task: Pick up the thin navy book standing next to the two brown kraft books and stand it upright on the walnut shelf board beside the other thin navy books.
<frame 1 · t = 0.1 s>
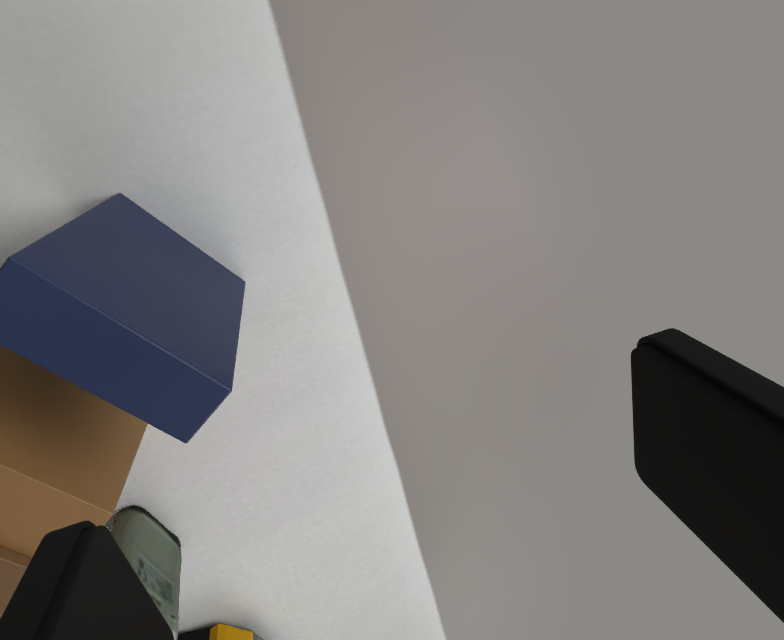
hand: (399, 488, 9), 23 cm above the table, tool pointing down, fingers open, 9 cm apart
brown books: (68, 389, 31), on the table
power adapter: (154, 531, 36), on the table
navy book: (171, 258, 29), on the table
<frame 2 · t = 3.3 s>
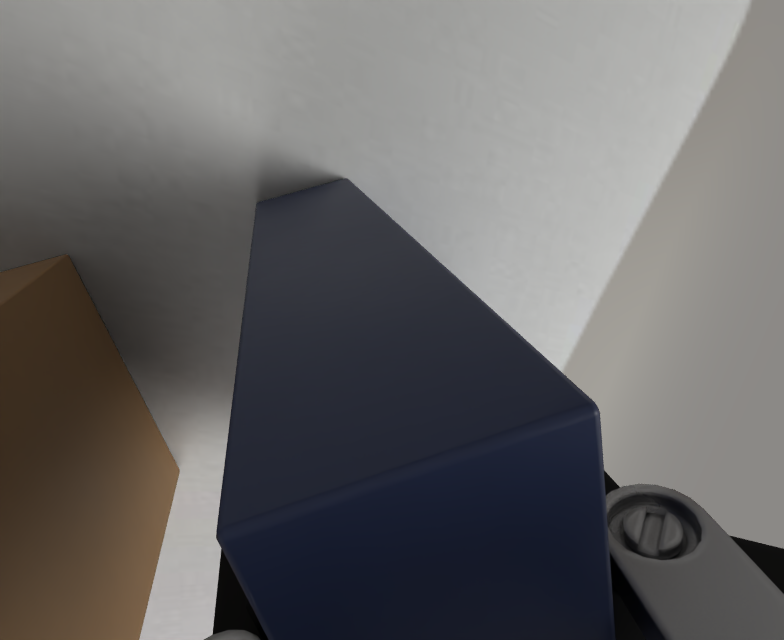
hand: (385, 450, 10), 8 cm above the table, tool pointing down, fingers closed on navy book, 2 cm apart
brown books: (14, 407, 16), on the table
navy book: (338, 310, 17), on the table, touching gripper
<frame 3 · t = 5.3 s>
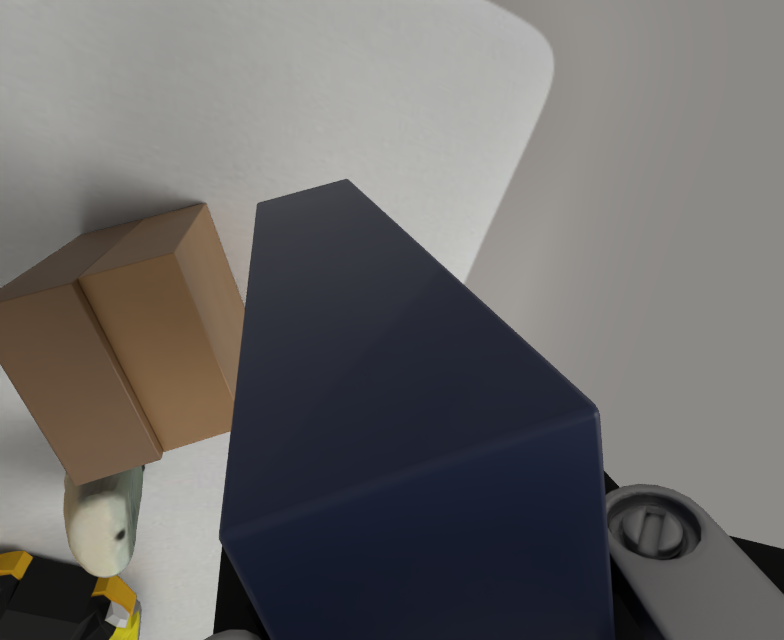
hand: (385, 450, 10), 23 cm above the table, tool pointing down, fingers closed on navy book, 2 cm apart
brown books: (171, 283, 31), on the table
power adapter: (128, 450, 34), on the table
gaming controller: (45, 603, 37), on the table
navy book: (338, 311, 17), point 16 cm above the table, touching gripper
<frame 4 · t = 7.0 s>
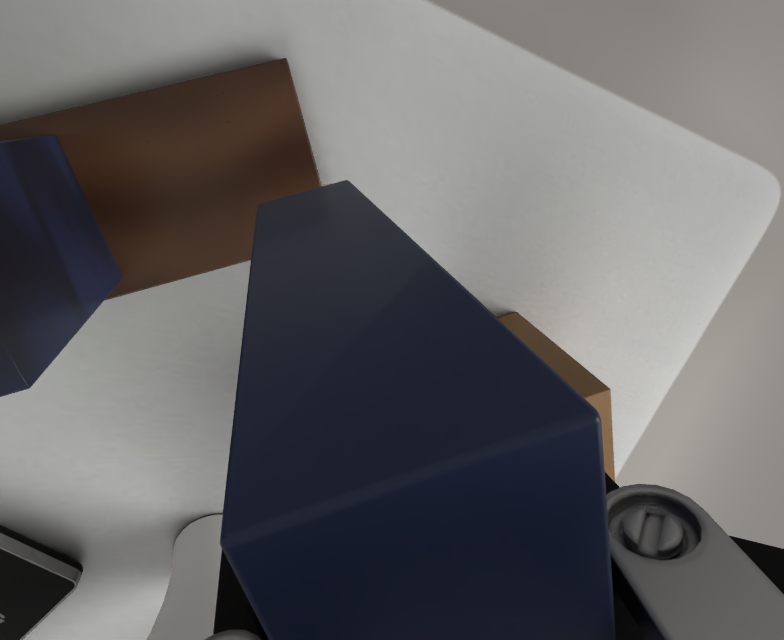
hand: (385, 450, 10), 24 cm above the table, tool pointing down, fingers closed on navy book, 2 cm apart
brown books: (479, 371, 39), on the table
shelf: (158, 191, 30), on the table
cup: (219, 544, 40), on the table
navy book: (338, 312, 17), point 17 cm above the table, touching gripper
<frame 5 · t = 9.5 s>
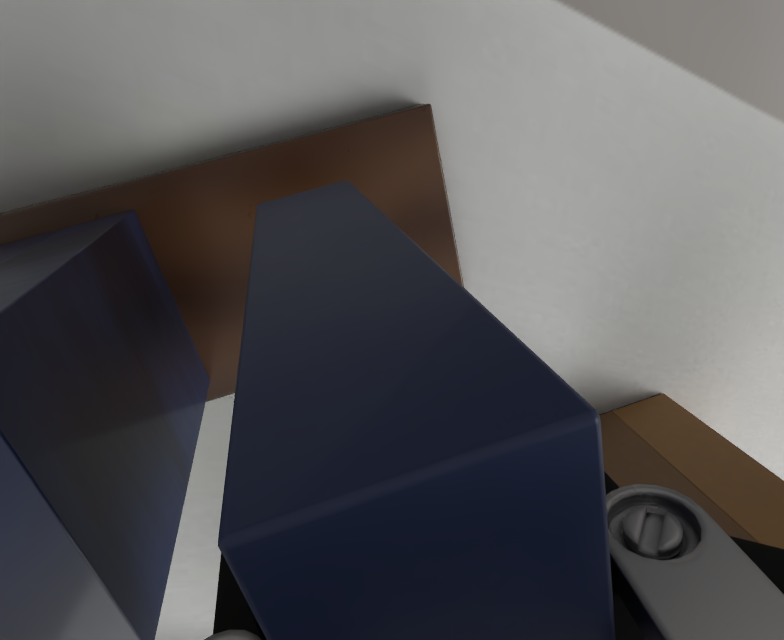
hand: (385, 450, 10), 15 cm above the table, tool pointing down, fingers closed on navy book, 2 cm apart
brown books: (613, 462, 33), on the table
shelf: (255, 270, 23), on the table
navy book: (338, 312, 17), point 7 cm above the table, touching gripper
when the fingers open (9 cm above the table, at t = 11.1 s): navy book stays where it is, resting on shelf.
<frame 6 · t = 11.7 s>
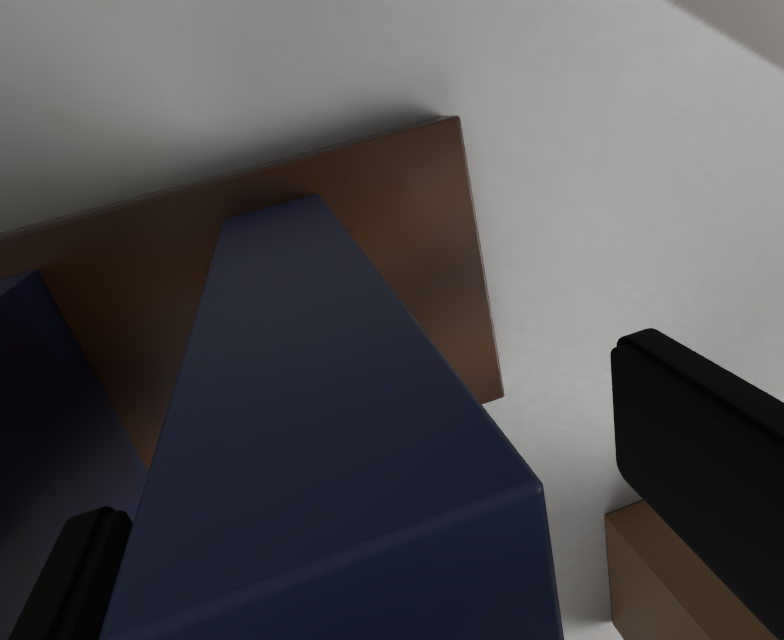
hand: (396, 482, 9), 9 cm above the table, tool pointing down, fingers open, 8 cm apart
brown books: (668, 547, 27), on the table
shelf: (219, 341, 17), on the table
navy book: (311, 328, 16), point 1 cm above the table, touching shelf
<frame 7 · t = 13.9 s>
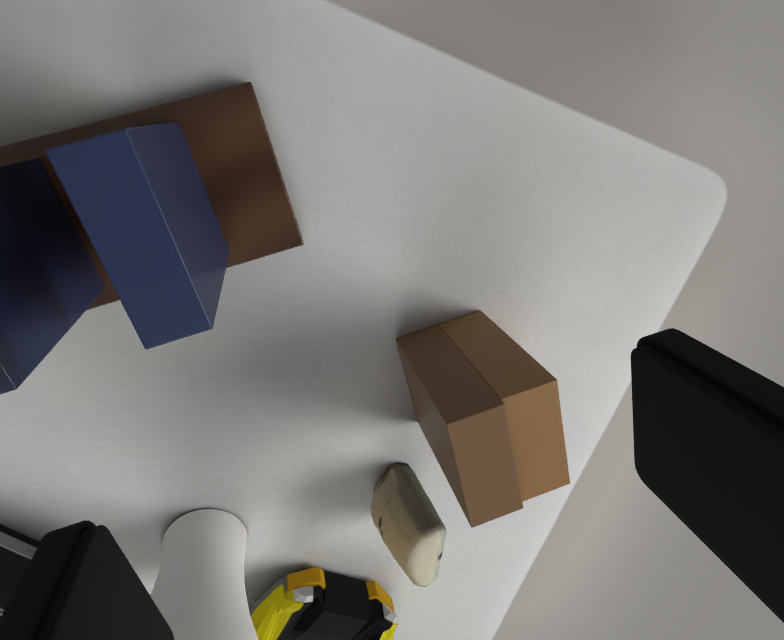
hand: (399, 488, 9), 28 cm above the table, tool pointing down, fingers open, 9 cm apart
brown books: (448, 367, 41), on the table
power adapter: (397, 488, 45), on the table
shelf: (136, 206, 32), on the table
gaming controller: (320, 606, 48), on the table
cup: (206, 538, 42), on the table
navy book: (183, 196, 31), point 1 cm above the table, touching shelf
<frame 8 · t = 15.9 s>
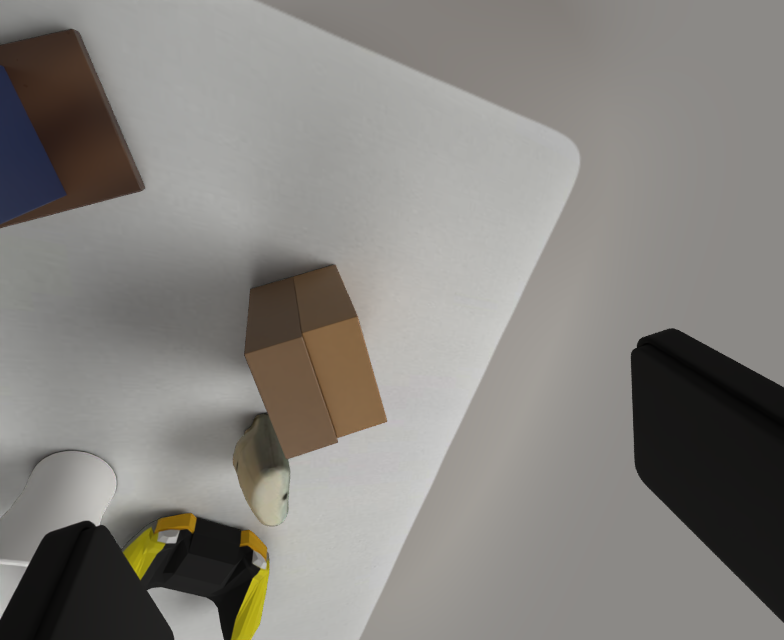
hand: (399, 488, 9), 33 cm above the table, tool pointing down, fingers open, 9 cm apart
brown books: (307, 320, 43), on the table
power adapter: (267, 439, 47), on the table
gaming controller: (198, 554, 50), on the table
cup: (75, 480, 44), on the table
navy book: (14, 139, 33), point 1 cm above the table, touching shelf
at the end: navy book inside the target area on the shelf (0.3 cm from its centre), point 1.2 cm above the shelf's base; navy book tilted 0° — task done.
